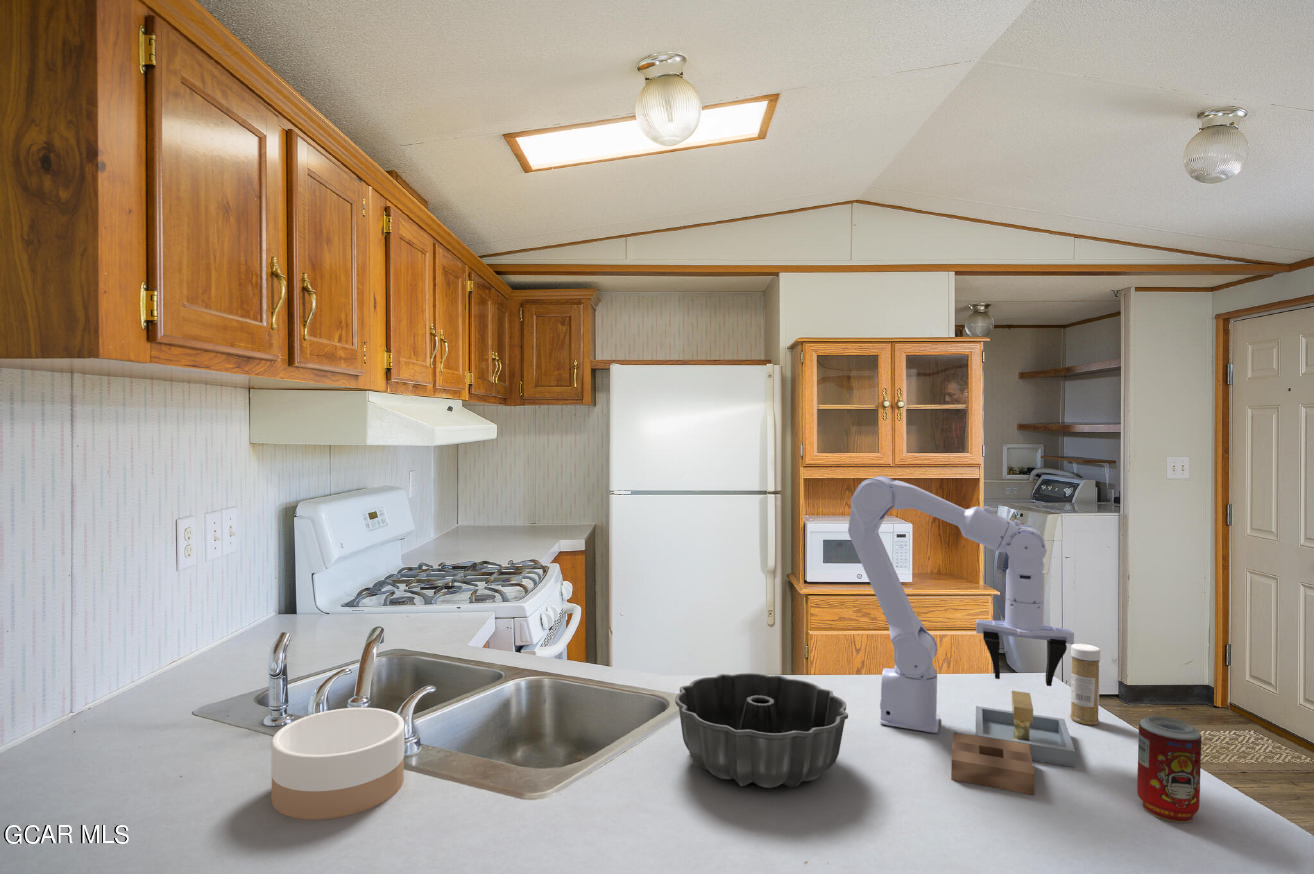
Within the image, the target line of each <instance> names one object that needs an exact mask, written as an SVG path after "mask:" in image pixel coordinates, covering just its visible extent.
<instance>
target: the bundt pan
mask: <svg viewBox="0 0 1314 874" xmlns="http://www.w3.org/2000/svg"><path fill="white" fill-rule="evenodd" d="M674 701H675V705H676V706H677V707H678V709H679V710H678V711H679V716H680V717H679V719H680V726H681V734H682V739H683V743H684V745H685V747H686V749H687V751H688V753H689V756H690V758H691V759H692V762H693V763H694V764H695V765H696V766H697V767H699V768H701V769H703V770H705V771H709V773H711V774H712V775H713V776H715V777H717V778H719V779H721V780H734V781H736V782H737V784H738V785H739V786H741V787H745V786H747V785H749V784H752V783H754V784H755V785H757V786H759V787H761V788H766V789H772V788H776V787H778V786H780V785H782V784H783V785H785V786H786V787H789V788H796V787H798V786H799V785H800V784H801V783H802V782H809V781H813V780H816V779H817V778H819V777H820V776H821V775H823V774H824V772H826V771H827V770H829V769H830V768H831V767H833V765H835V762H836V761H837V759H838V756H839V754H840V749H841V744H842V739H843V732H844V729H845V728H844V727H845V723H846V720H848V719H849V713H848V712H847V703H846V701H845V700H844V699H842V698H840V697H839V696H836V695H834V691H832V690H830V689H828V688H821V686H819V685H817V684H815V683H813V682H809V681H806V680H801V679H795V678H788V677H786V676H783V675H779V674H778V675H769V674H762V673H754V672H746V673H744V672H742V673H735V674H734V673H733V674H727V673H720V674H718V675H716V676H706V677H700V678H697V679H694V680H693V681H691V682H690V683H689V684H687V685H683V686H680V687H679V692H678V694H676V695H675V699H674Z"/></svg>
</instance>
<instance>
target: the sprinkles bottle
mask: <svg viewBox="0 0 1314 874" xmlns="http://www.w3.org/2000/svg"><path fill="white" fill-rule="evenodd" d="M1070 656H1071V675H1070V678H1071V681H1070V685H1071V686H1070V703H1071V704H1070V706H1071V708H1070V709H1071V710H1070V716H1069V717H1070V719H1071V720H1072V721H1074V722H1076V723H1078V724H1081V725H1088V726H1092V725H1094V726H1095V725H1097V724H1099V722H1100V719H1099V705H1100V684H1099V683H1100V680H1099V679H1100V660H1101V649H1100V648H1099V647H1097V646H1095V645H1092V644H1085V643H1074V644H1071V646H1070Z"/></svg>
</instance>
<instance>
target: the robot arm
mask: <svg viewBox="0 0 1314 874" xmlns="http://www.w3.org/2000/svg"><path fill="white" fill-rule="evenodd" d="M850 498H851V499H850V501H851V502H850V503H851V505H850V507H851V508H850V514H849V520H848V528H847V532H848V536H849V538H850V540H851V543H852V545H853V547H854V549H855V552H856V553H857V556H858V558H859V561H860V562H861V565H862V567H863V570H864V572H865V575H866V576H867V579H868V581H869V584H870V585H871V588H872V590H873V592H874V594H875V597H876V599H877V601H878V604H879V606H880V609H881V611H882V613H883V616H884V618H885V620H886V622H887V624H888V628H889V629H888V630H889V636H890V642H891V643H892V647H893V661H894V664H895V665H894V668H893V667H892V668H888V667H885V668H883V669H882V675H881V682H880V683H881V688H880V690H881V691H880V702H879V709H880V721H879V723H880V725H885V726H891V727H898V728H902V729H909V730H913V731H914V730H915V731H921V732H927V733H933V734H938V732H939V727H940V715H939V714H938V713H937V709H938V708H937V706H938V705H937V704H938V671H937V669H936V668H935V667H934V665H933V661H934V658H935V657H936V655H937V654H938V653H937V652H938V643H937V640H936V639H935V637H934V635H932V634H931V633H930V632H929V631H928V630H927V629H926V628H925V627H924V625H923V622H922V620H921V619H920V617H918V616H917V614H916V613H915V611H914V609H913V606H912V604H911V603H910V600H909V598H908V596H907V593H906V592H905V589H904V587H903V584H902V582H901V580H900V578H899V575H898V573H897V571H896V569H895V567H894V564H893V563H892V560H891V558H890V555H889V553H888V552H887V551H888V550H887V549H886V547H885V545H884V543H883V540H882V537H881V535H880V533H879V531H880V528H881V526H882V525H883V522H884V519H886V515H887V514H888V513H889V512H891V510H892V509H894V510H895V511H896V510H897V511H898V510H906V509H907V510H908V509H909V510H910V509H914V510H917V511H919V512H922V513H925V514H927V515H930V516H932V517H935V518H937V519H940V520H941V521H944V522H947V523H949V524H952V525H954V526H957V527H958V528H959V530H960V532H961V536H962V537H964V538H966V539H968V540H971V541H973V542H975V543H978V544H980V545H983V546H985V547H986V548H988V549H991V550H993V551H996V552H998V553H1007V555H1008V566H1007V567H1008V568H1007V569H1006V570H1005V571H1006V573H1005V576H1006V577H1005V606H1004V607H1005V608H1004V609H1005V612H1004V613H1005V614H1004V615H1005V616H1004V620H990V619H989V620H986V619H976V628H975V630H976V631H975V632H976V634H980V635H983V641H984V644H985V646H986V648H987V651H988V653H989V655H990V658H991V661H992V667H993V669H994V679H995V680H1001V678H1000V677H1001V675H1000V674H1001V673H1000V672H1001V670H1000V647H1001V646H1000V643H1001V642H1000V636H1005V637H1006V636H1007V637H1017V638H1023V639H1033V640H1041V641H1042V640H1043V641H1046V668H1045V684H1046V686H1047V687H1052V685H1053V679H1054V676H1055V673H1056V670H1057V667H1058V666H1059V663H1060V662H1061V660H1062V658H1063V657H1064V656H1065V654H1066V653H1067V652H1066V651H1067V650H1068V649H1067V648H1068V647H1067V644H1068V645H1073V644H1075V632H1074V630H1073V629H1067V628H1061V627H1057V626H1050V625H1045V624H1044V612H1045V610H1044V609H1045V608H1044V606H1045V603H1044V602H1045V573H1044V572H1043V571H1044V570H1045V563H1044V559H1045V557H1046V555H1047V552H1048V551H1047V547H1046V541H1045V538H1044V537H1043V535H1042V534H1041V532H1039V530H1037V529H1036V528H1034V527H1032V526H1031V525H1027V524H1021V523H1022V522H1021V521H1020V520H1018V519H1014V521H1013V520H1011V519H1008V518H1006V517H1004V516H1002V515H999V514H996V513H994V512H992V511H993V508H991V507H990V506H986V505H985V506H984V507H983V508H982V507H980V506H978V505H977V506H973V507H970V508H968V509H966V508H964V507H961V506H959V505H957V504H956V503H955V504H954V503H953V502H950V501H949V500H946V499H944V498H941V497H940V496H937V495H936V494H933V493H932V492H929V491H926V490H925V489H923V488H920V487H919V486H915V485H914V484H910V483H907V482H905V481H902V480H901V481H900V480H897V479H896V480H894V479H892V478H891V477H888V476H886V475H885V476H884V475H880V476H879V475H878V476H875V477H872V478H868V479H865V480H863V481H861V483H860V484H859V485H858V486H857V488H856V489H855V492H854V494H853V495H852V497H850Z"/></svg>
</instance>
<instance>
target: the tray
mask: <svg viewBox="0 0 1314 874" xmlns="http://www.w3.org/2000/svg"><path fill="white" fill-rule="evenodd" d="M975 735H976V736H982V737H988V738H994V739H1000V740H1006V741H1012V742H1019V743H1025V744H1029V747H1030V752H1031V758H1032V761H1036V762H1040V761H1043V762H1042V763H1046V762H1048V764H1052V763H1053V765H1060V766H1064V765H1065V767H1069V768H1075V766H1076V764H1075V763H1076V750H1075V747H1074V744H1073V740H1072V738H1071V734H1070V731H1069V727H1068V726H1067V722H1066V720H1065V718H1062V717H1061V718H1060V717H1053V716H1048V715H1047V716H1046V715H1039V714H1034V713H1033V723H1031V722H1030V741H1023V740H1017V739H1014V718H1013V710H1006V709H999V708H993V707H986V706H978V705H976V706H975Z"/></svg>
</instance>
